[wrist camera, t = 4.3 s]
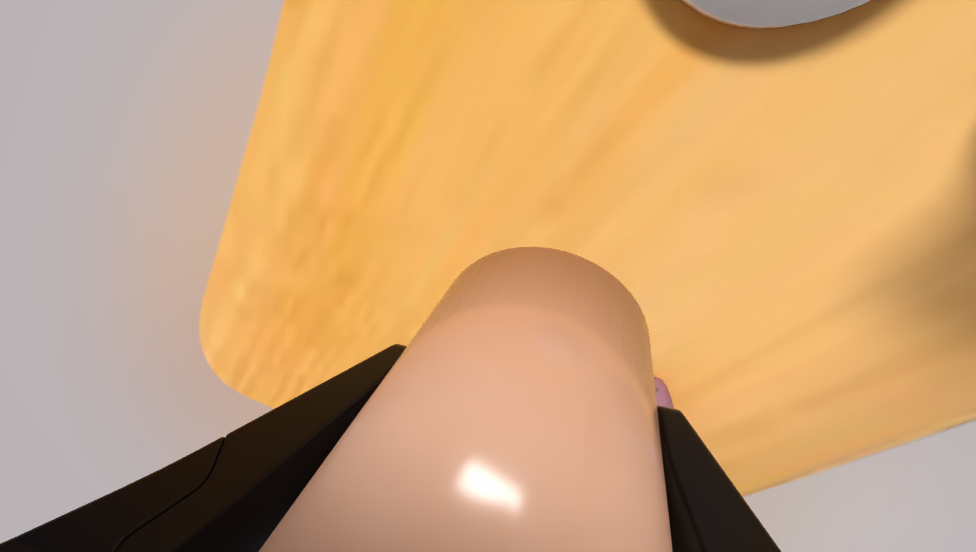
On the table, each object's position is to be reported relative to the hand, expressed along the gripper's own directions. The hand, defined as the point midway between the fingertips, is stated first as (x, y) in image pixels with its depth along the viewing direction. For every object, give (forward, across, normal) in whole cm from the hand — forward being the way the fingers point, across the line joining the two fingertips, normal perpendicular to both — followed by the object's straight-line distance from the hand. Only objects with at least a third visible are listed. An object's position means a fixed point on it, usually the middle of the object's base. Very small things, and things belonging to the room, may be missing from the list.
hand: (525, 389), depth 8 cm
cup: (+2, 0, 0) cm, 2 cm away
